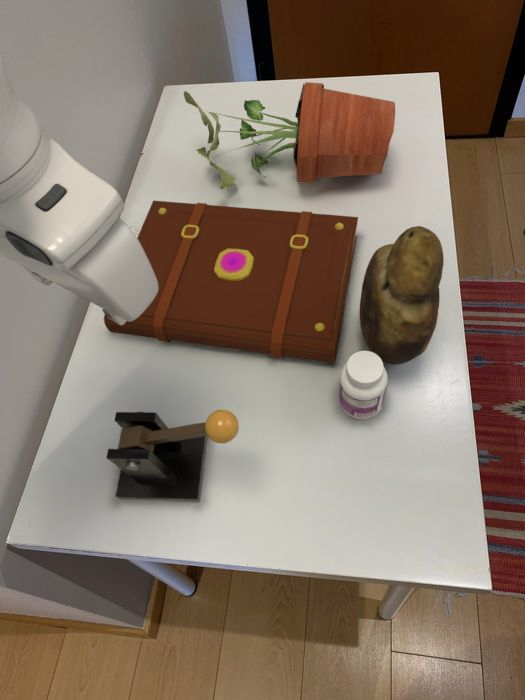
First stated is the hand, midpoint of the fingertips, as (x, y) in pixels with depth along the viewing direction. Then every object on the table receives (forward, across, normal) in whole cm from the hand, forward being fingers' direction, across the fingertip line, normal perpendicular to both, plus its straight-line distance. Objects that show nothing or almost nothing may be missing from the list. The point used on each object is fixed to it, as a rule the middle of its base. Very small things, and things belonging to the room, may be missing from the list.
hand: (83, 296), depth 48 cm
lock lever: (+12, +12, -4) cm, 17 cm away
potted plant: (+23, -7, +42) cm, 49 cm away
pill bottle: (+23, +24, +12) cm, 35 cm away
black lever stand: (+23, +7, -7) cm, 25 cm away
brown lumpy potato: (+23, +23, +22) cm, 39 cm away
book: (+23, 0, +20) cm, 30 cm away
